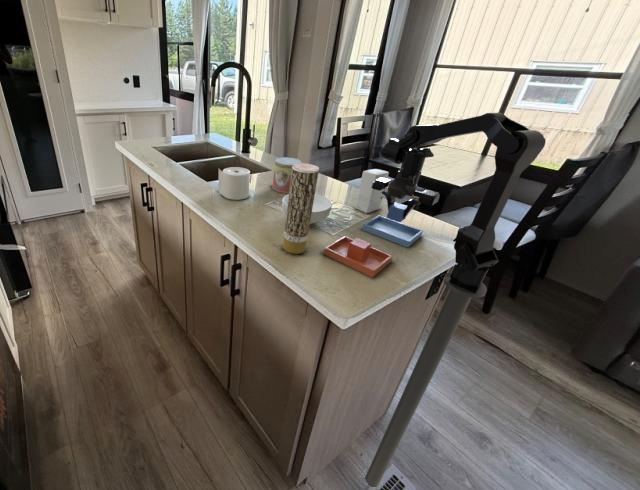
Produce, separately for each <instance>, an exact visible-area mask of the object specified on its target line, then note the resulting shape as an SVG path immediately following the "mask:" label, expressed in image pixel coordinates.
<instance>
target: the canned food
mask: <svg viewBox="0 0 640 490" xmlns="http://www.w3.org/2000/svg"><path fill="white" fill-rule="evenodd" d="M297 163H303V161H302V160H301V159H299V158H296V157H289V156H281V157H276V158H275V159H274V167H273V177H272V185H271V188H272V189H273V190H274V191H276V192H279V193H283V194H289V191H290V183H291V175H292V167H293V165H294V164H297Z"/></svg>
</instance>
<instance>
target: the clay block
mask: <svg viewBox="0 0 640 490" xmlns="http://www.w3.org/2000/svg"><path fill="white" fill-rule="evenodd" d="M370 247H372V242H369V241H366V240H363V239H361V238H359V237H356V238H355V239H353V241H352V242H350V244H349V248H348V252H347V256H348V257H350V258H353V259H355V260H357V261H359V262H362V261H363V260H364V259H366V258H367V257H368V255H369V251H370Z"/></svg>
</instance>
